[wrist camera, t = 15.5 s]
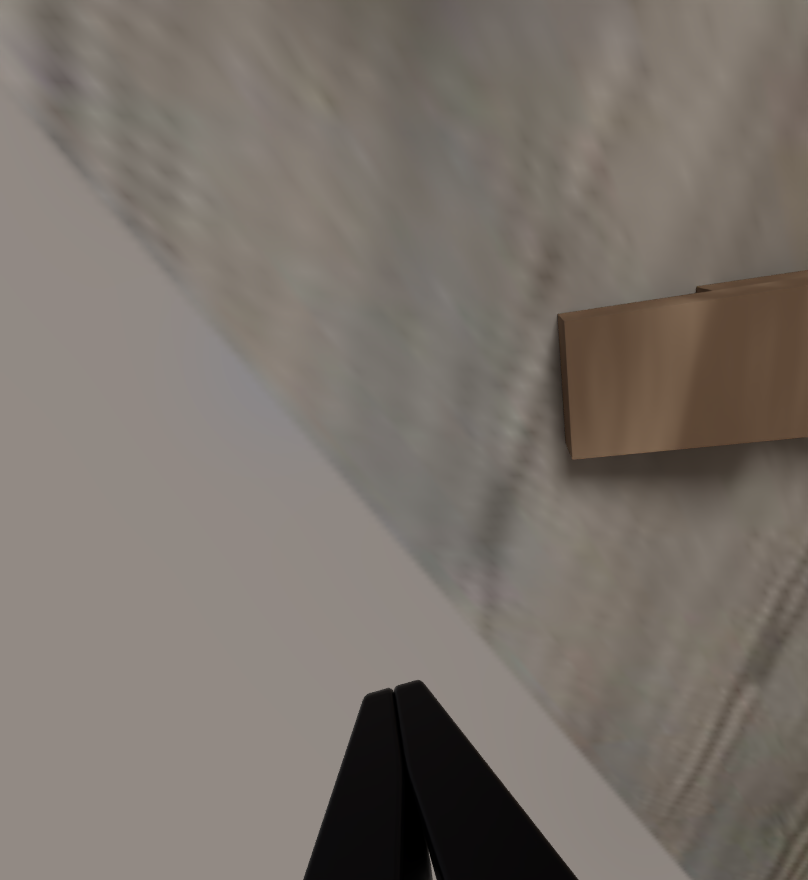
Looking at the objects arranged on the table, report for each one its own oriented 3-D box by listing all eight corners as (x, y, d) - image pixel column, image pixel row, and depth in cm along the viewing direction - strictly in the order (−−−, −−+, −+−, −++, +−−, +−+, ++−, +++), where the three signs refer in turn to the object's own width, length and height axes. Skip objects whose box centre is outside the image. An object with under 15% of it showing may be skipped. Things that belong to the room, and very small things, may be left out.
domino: (557, 314, 18) (811, 276, 16) (565, 442, 20) (795, 418, 18) (564, 321, 17) (843, 280, 15) (572, 459, 18) (822, 435, 17)
